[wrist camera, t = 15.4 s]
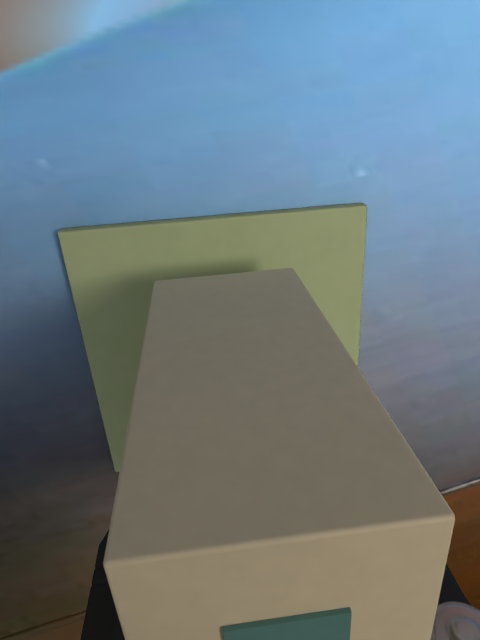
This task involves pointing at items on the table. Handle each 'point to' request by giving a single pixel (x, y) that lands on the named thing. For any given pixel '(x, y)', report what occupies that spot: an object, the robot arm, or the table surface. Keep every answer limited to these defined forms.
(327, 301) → the mat
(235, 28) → the table surface
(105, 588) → the robot arm
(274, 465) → the tissue box
